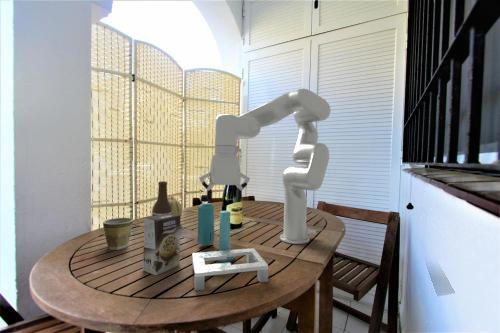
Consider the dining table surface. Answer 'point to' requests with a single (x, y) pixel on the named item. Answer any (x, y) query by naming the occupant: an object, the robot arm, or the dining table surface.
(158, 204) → the beer bottle
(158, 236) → the food box
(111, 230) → the ceramic cup
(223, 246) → the flanged peg
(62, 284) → the dining table surface
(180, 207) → the cantaloupe
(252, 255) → the keyhole plate
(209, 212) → the beverage bottle
